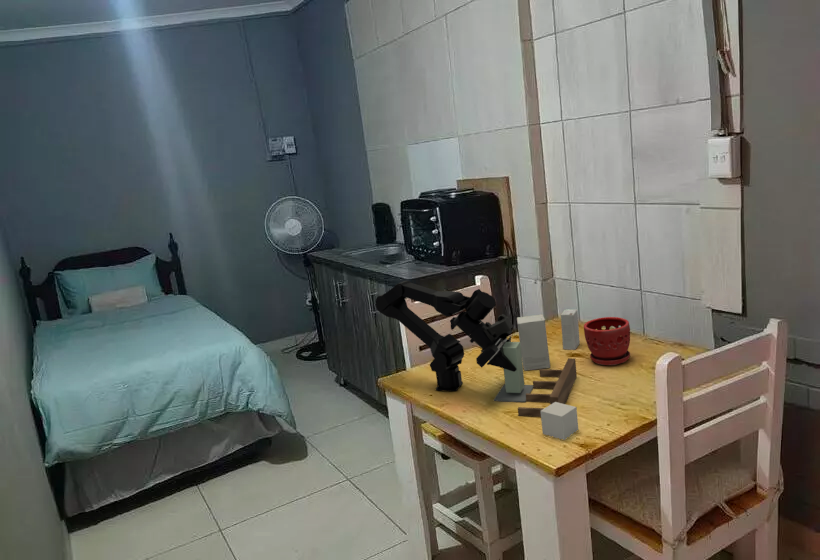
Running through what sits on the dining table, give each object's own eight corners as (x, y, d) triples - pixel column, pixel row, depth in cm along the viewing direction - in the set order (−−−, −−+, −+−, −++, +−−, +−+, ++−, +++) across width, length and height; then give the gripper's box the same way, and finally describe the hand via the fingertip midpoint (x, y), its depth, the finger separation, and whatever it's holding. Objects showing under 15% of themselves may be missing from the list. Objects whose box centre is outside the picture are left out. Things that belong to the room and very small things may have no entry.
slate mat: (493, 401, 170) (493, 399, 170) (504, 385, 179) (504, 384, 179) (525, 402, 166) (525, 401, 166) (534, 386, 176) (534, 385, 176)
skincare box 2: (567, 343, 207) (564, 308, 205) (580, 343, 205) (577, 308, 202) (562, 349, 202) (559, 314, 199) (576, 350, 200) (573, 314, 197)
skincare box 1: (548, 361, 193) (543, 313, 190) (551, 368, 187) (546, 319, 184) (521, 363, 194) (516, 316, 191) (523, 371, 188) (517, 322, 185)
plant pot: (603, 350, 196) (600, 314, 194) (640, 357, 186) (638, 319, 183) (577, 363, 189) (574, 325, 186) (615, 371, 178) (612, 332, 176)
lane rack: (518, 415, 159) (516, 395, 158) (540, 375, 183) (538, 358, 182) (559, 417, 154) (557, 397, 153) (576, 376, 178) (575, 358, 177)
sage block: (506, 392, 171) (501, 347, 168) (510, 385, 175) (506, 341, 173) (520, 393, 169) (515, 348, 167) (524, 385, 174) (520, 341, 171)
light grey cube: (557, 424, 151) (555, 401, 150) (578, 430, 147) (576, 407, 146) (542, 434, 148) (540, 410, 146) (564, 440, 143) (561, 416, 142)
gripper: (483, 319, 161) (528, 360, 158) (502, 299, 177) (543, 336, 175) (458, 347, 166) (502, 387, 163) (478, 326, 182) (519, 362, 180)
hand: (518, 367), depth 170 cm, fingers closed on sage block, 5 cm apart
